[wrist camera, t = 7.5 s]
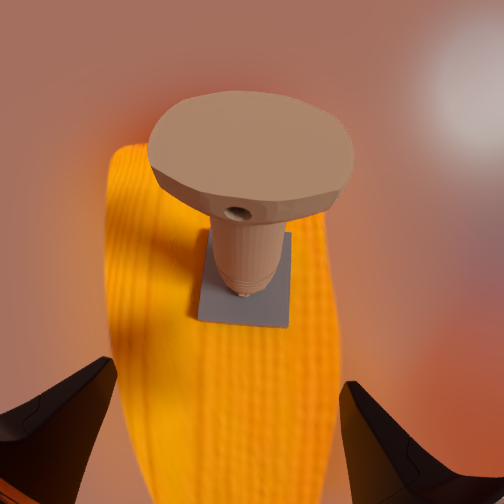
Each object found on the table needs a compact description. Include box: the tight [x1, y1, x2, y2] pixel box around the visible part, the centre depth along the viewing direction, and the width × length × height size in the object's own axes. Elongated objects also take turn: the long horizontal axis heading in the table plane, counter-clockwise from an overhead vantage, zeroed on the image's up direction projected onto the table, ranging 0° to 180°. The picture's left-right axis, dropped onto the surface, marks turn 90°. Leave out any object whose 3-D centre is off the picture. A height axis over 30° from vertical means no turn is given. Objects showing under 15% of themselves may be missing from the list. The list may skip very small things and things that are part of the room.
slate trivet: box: [197, 227, 291, 328], centre depth 22 cm, size 8×7×1 cm
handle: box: [147, 91, 355, 298], centre depth 15 cm, size 5×6×15 cm
